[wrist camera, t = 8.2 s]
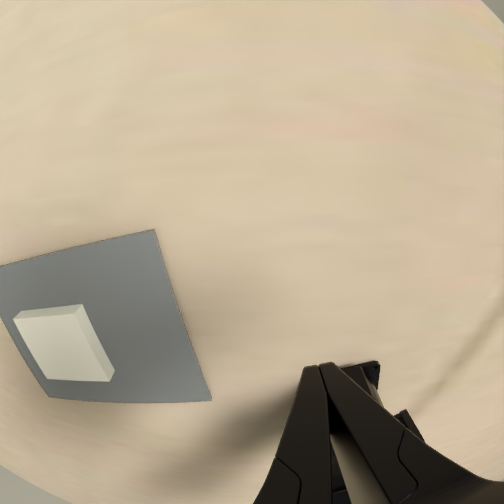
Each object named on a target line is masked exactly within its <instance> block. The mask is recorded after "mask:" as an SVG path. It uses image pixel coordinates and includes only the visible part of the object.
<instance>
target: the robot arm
mask: <svg viewBox="0 0 504 504" xmlns="http://www.w3.org/2000/svg"><path fill="white" fill-rule="evenodd" d="M374 366H375V367H374ZM379 373H380V364H379V362H378V361H373V362H369V363H365V364H361V365H357V366H352V367H348V368H343V369H340V368H339V367H338V366H336V365H335V364H334V363H333V362H327V363H322V364H319V366H318V365H312V366H306V367H304V369H303V372H302V375H301V378H300V382H299V385H298V388H297V392H296V395H295V398H294V401H293V404H292V408H291V411H290V414H289V417H288V420H287V423H286V426H285V429H284V432H283V435H282V438H281V441H280V444H279V446H278V449H277V452H276V455H275V458H274V460H273V463H272V465H271V468H270V470H269V473H268V475H267V478H266V480H265V482H264V484H263V486H262V488H261V490H260V492H259V494H258V496H257V497H256V499H255V501H254V503H253V504H504V482H501V481H492V480H488V479H484V478H482V477H479V476H477V475H475V474H473V473H472V472H470V471H468V470H467V469H465V468H463V467H461V466H460V465H458V464H457V463H455V462H453V461H452V460H450V459H448V458H447V457H445V456H443V455H442V454H440V453H439V452H437V451H436V450H434V449H433V448H431V447H430V446H428V445H427V444H426V443H425V441H424V439H423V437H422V435H421V434H420V432H419V430H418V429H417V427H416V425H415V423H414V422H413V420H412V418H411V417H410V415H409V413H408V412H407V410H406V409H405V410H403V411H400V413H398V414H396V415H394V416H393V415H392V414H390V413H389V412H388V411H387V410H386V409H385V408H384V406H383V404H382V401H381V399H380V397H379V394H378V392H377V389H378V381H379Z"/></svg>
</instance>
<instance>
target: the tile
mask: <svg viewBox="0 0 504 504" xmlns="http://www.w3.org/2000/svg"><path fill="white" fill-rule="evenodd" d="M13 320H14V322H15V324H16V326H17V328H18V330H19V332H20V334H21V336H22V338H23V339H24V341H25V343H26V345H27V347H28V348H29V350H30V352H31V354H32V355H33V357H34V359H35V360H36V362H37V364H38V365H39V367H40V368H41V370H42V372H43V373H44V375H45V376H46V378H47V379H56V380H73V381H105V382H110V380H111V378H112V376H113V374H114V371H115V369H114V368H113V366H112V364H111V362H110V360H109V358H108V357H107V355H106V353H105V351H104V349H103V347H102V345H101V343H100V341H99V339H98V337H97V335H96V333H95V331H94V329H93V326H92V324H91V322H90V320H89V318H88V316H87V313H86V311H85V309H84V307H83V304H77V305H69V306H60V307H52V308H43V309H34V310H25V311H21V312H20V313H19V314H18V315H17V316H16V317H15V318H14V319H13Z"/></svg>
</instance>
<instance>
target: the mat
mask: <svg viewBox="0 0 504 504" xmlns="http://www.w3.org/2000/svg"><path fill="white" fill-rule="evenodd" d="M77 304H83V307H84V309H85V311H86V313H87V316H88V318H89V320H90V322H91V324H92V326H93V329H94V331H95V333H96V335H97V337H98V339H99V341H100V343H101V345H102V347H103V349H104V351H105V353H106V355H107V357H108V358H109V360H110V362H111V364H112V366H113V368H114V369H115V371H114V374H113V376H112V378H111V380H110V382H105V381H73V380H56V379H47V378H46V376H45V375H44V373H43V372H42V370H41V368H40V367H39V365H38V364H37V362H36V360H35V359H34V357H33V355H32V354H31V352H30V350H29V348H28V347H27V345H26V343H25V341H24V339H23V338H22V336H21V334H20V332H19V330H18V328H17V326H16V324H15V322H14V320H13V319H14V318H15V317H16V316H17V315H18V314H19V313H20V312H21V311H25V310H34V309H43V308H52V307H60V306H69V305H77ZM0 316H1V318H2V320H3V322H4V324H5V326H6V328H7V330H8V332H9V334H10V336H11V338H12V339H13V341H14V343H15V345H16V347H17V348H18V350H19V352H20V353H21V355H22V357H23V358H24V360H25V362H26V363H27V365H28V367H29V368H30V370H31V371H32V373H33V375H34V376H35V378H36V379H37V381H38V382H39V384H40V385H41V387H42V388H43V389H44V391H45V392H46V394H47V395H48V397H52V398H61V399H71V400H82V401H95V402H114V403H181V402H201V401H212V397H211V394H210V392H209V389H208V387H207V384H206V382H205V379H204V377H203V374H202V372H201V369H200V366H199V364H198V361H197V358H196V356H195V353H194V350H193V348H192V345H191V342H190V339H189V337H188V334H187V331H186V328H185V325H184V322H183V320H182V317H181V314H180V311H179V308H178V305H177V302H176V299H175V296H174V292H173V289H172V286H171V283H170V280H169V277H168V273H167V270H166V267H165V263H164V260H163V257H162V253H161V250H160V246H159V243H158V239H157V236H156V232H155V229H153V230H148V231H143V232H138V233H134V234H129V235H125V236H120V237H116V238H111V239H107V240H102V241H98V242H94V243H89V244H85V245H81V246H77V247H72V248H68V249H64V250H60V251H56V252H52V253H48V254H44V255H40V256H36V257H32V258H29V259H25V260H21V261H17V262H13V263H10V264H6V265H2V266H0Z"/></svg>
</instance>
